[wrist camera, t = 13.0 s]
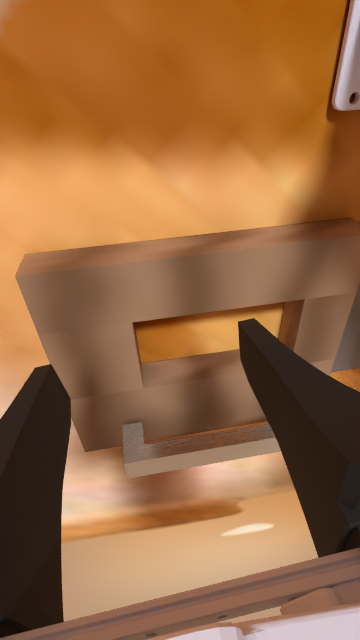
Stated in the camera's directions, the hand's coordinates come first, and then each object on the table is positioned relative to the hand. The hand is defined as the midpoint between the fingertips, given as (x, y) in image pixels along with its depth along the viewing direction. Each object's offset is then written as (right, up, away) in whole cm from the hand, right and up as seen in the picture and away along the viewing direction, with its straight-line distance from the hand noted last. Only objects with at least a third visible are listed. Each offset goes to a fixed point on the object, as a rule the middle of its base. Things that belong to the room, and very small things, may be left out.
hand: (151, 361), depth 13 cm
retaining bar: (+4, -6, +14) cm, 16 cm away
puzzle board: (+2, 0, +12) cm, 13 cm away
